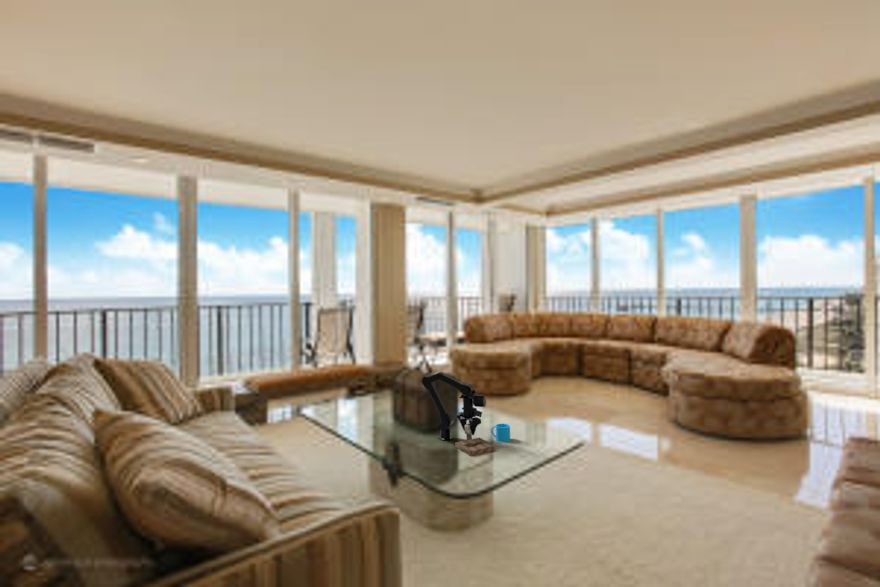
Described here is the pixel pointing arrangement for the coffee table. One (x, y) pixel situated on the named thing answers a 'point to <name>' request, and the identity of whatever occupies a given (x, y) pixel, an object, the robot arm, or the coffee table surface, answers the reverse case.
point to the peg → (468, 432)
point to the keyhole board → (475, 446)
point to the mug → (502, 432)
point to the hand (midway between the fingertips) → (468, 432)
